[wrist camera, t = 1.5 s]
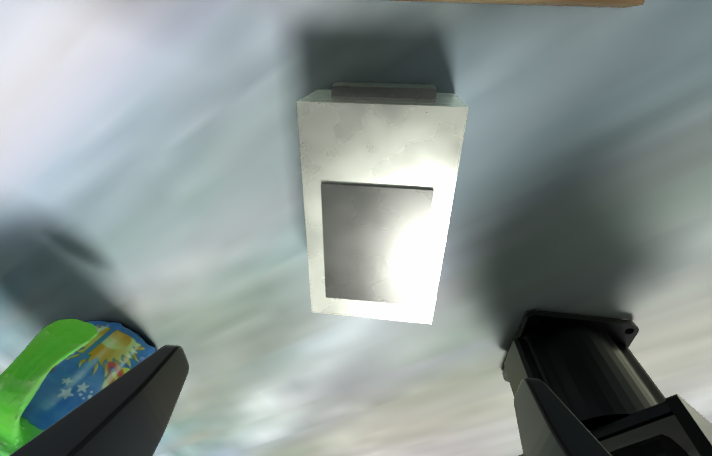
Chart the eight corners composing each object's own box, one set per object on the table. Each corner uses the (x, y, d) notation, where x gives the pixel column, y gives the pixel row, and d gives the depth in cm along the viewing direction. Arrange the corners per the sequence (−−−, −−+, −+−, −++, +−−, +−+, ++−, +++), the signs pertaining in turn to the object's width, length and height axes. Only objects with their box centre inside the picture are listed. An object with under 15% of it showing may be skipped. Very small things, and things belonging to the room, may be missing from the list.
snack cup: (61, 255, 24) (-141, 383, 15) (200, 318, 25) (91, 468, 16) (55, 370, 31) (-82, 501, 22) (162, 413, 33) (74, 551, 24)
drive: (455, 83, 15) (471, 95, 12) (426, 277, 21) (431, 326, 17) (318, 79, 16) (294, 90, 12) (326, 268, 22) (311, 314, 18)
